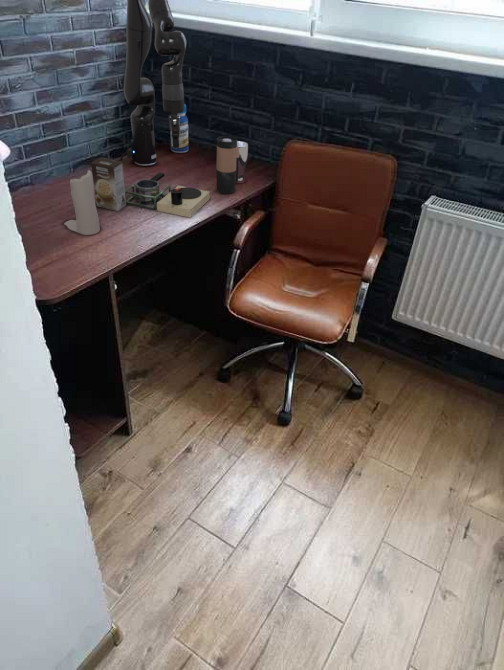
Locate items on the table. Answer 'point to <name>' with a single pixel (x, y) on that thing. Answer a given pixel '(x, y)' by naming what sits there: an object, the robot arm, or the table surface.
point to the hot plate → (183, 204)
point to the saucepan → (149, 189)
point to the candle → (84, 206)
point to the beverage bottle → (182, 134)
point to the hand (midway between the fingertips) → (175, 143)
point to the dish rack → (144, 196)
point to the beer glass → (241, 161)
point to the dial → (176, 196)
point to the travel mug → (226, 164)
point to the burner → (190, 193)
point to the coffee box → (109, 183)
